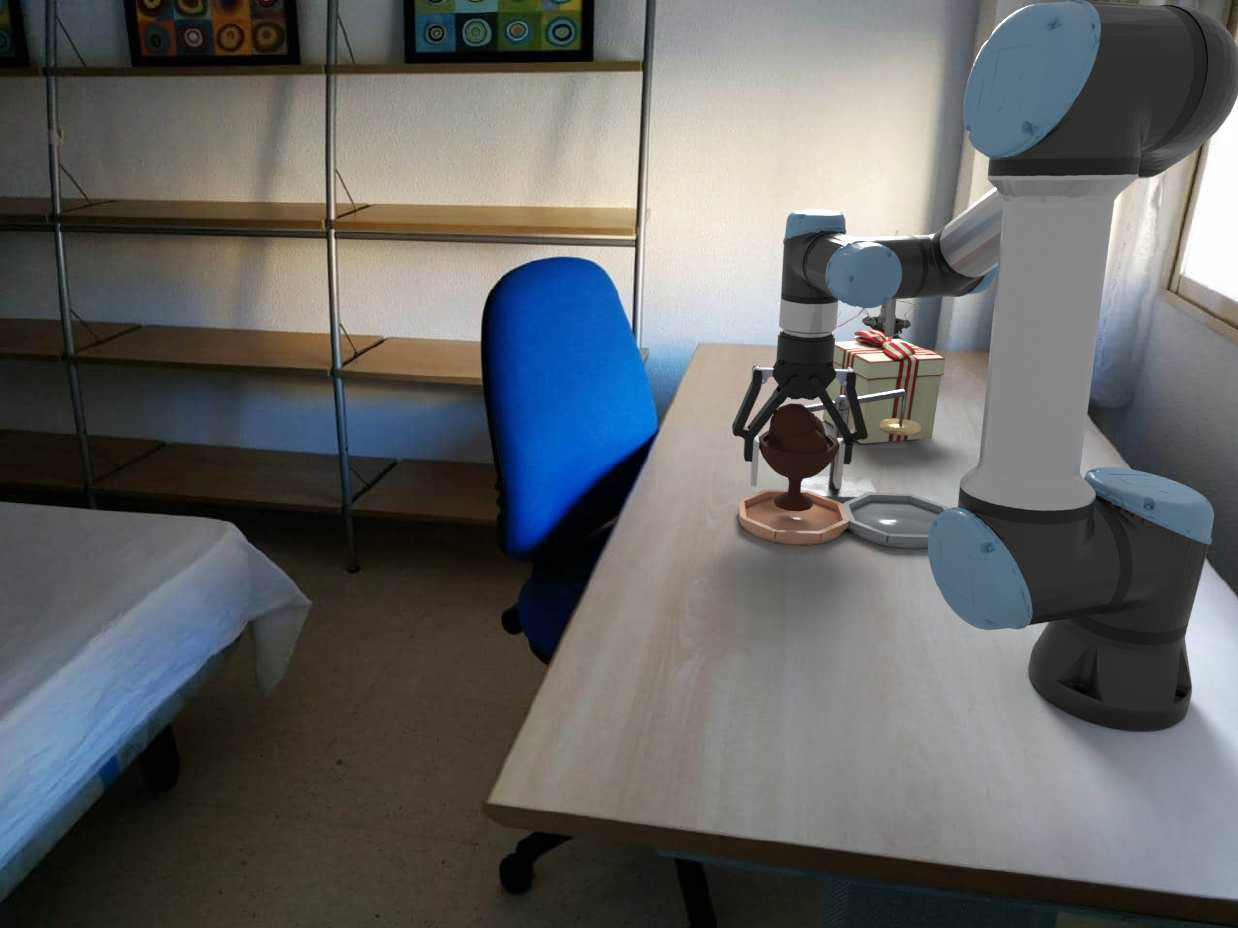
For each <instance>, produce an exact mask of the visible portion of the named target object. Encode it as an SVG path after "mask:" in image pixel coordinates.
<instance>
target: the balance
mask: <svg viewBox="0 0 1238 928" xmlns="http://www.w3.org/2000/svg"><path fill="white" fill-rule="evenodd" d="M897 397H902V401H901V409H900V418H899V419H897V418H892V419H885V420H882V421H880V424H879V428H880V429H881V430H882V431H884V432H886V433H890V434H894V435H903V436H908V435H916V434H919V433H920V432H921V425H920V424H919V423H917V422H914V421H911V420H906V419H903V414H904V406H905V397H906V392H905V391H904V389H900V390H894V391H888V392H883V393H877V394H871V395H865V396H859V397H858V401H859V404H862V403H868V402H874V401H879V400H885V399H891V398H897ZM833 403H834V404H835V406H836V408H837V409H838V411H839V413H840V414H841V416H842V418H843V419H844V421H845V423H846V425H847V415H848V409H849V403H848V400H847V396H846V395H840V396H838V397H836V399H835V401H833ZM804 406H805V407H807V408H808V409H810V410H811V412H812V413H814V412H819V411H824V410H826V408H825V406H824V405H823V403H822V402H818V403H814V404H807V405H804ZM832 437H833V438H834V439H835V440H836V441H837V438H842V439H843V437H842V435H841V433H840V432H839V430H838V428H837V427H836V425H835V423H834V426H833V434H832ZM759 451H760V449H759ZM834 464H835V457H834V459H833V460H832V462H831V463H830V464H829V475H828V476H827V475H825V476H824V475H823V476H822V475H815V476H813V477H810V478H805V479H803V480H802V482H801V490H804V491H811V492H813V493H816V494H819V495H821V496H824V497H827V498H830V499H832V500H835V501H838V502H840V503H842V504H843V503H845V502H847V501H849V500H852V499H854V498H856V497H859V496H861V495H863V494H866V493H878V492H877V490H876V488H875V486H874V484H873V482H872V480H871V478H870V477H865V476H863V477H861V476H860V477H859V476H842V484H841V489H836V488H835V486H834V483H833V474H834Z"/></svg>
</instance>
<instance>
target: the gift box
mask: <svg viewBox="0 0 1238 928" xmlns="http://www.w3.org/2000/svg"><path fill="white" fill-rule="evenodd" d="M853 334H854V336H859V337H857V338H858V339H860V340H859V341H856V340H850V341H849V340H848V341H835V348H834V359H833V366H834V369H846V368H847V367H851V368H853V370H854V371H855V373H856V386H855V390H856V393H857V397H859V396H865V395H871V394H877V393H883V392H888V391H894V390H900V389H904V391H905V392H906V397H905V406H904V414H903V419H906V420H911V421H914V422H917V423H919V424H920V425H921V432H920V433H919V434H916V435H908V436H903V435H894V434H890V433H886V432H884V431H882V430H881V429H880V428H879V424H880V421H882V420H885V419H892V418H897V419H899V418H900V409H901V401H902V397H897V398H891V399H885V400H879V401H874V402H868V403H862V404H860V408H861V411H862V415H863V419H864V422H865V426H866V430H867V433H868V437H867V438H866V439H865V440H862V439H860V440H857V441H856V442H858V443H859V444H865V445H866V444H876V443H877V444H879V443H889V442H903V441H914V440H915V441H916V440H923V439H924V440H926V439H927V440H928V439H932V438H933V432H934V425H935V419H936V418H935V417H936V411H937V405H938V400H939V399H938V397H939V391H940V383H941V377H942V376H944V373H945V365H946V356H943V355H940V354H938V353H936V352H934V351H932V350H930V349H925V348H923V347H920V346H918V345H914V344H913V343H909V342H908V341H906V340H905V341H906V342H905V341H903V340H904V339H903V340H901V339H892V338H893V337H885V334H884V333H882V332H881V331H878V330H873V329H867V330H858V331H854V332H853ZM826 391H827V392H828V394H829V396H830V398H831V399H832V401H835V399H836V397H838V396H840V395H846V393H845V389H844V386H842V385H841V384H840V382H839V379H837V378H835V379H834V380H833V381H832V382H831V384H830V385H829V386H828V387H827V388H826ZM822 420H823V421H824V422H826V423H828V424H830V425H831V426H832V427H834V422H833V420H832V418H831V416H830V415H829V413H828V411H827V410H823V415H822ZM847 426H848V428H849V430H852V429H855V425H854V421H853V418H852V414H851V411H850V407H849V409H848V415H847Z"/></svg>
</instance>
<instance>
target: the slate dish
mask: <svg viewBox="0 0 1238 928" xmlns="http://www.w3.org/2000/svg"><path fill="white" fill-rule="evenodd" d="M843 506H844V508H845V511H846V514H847V516H848V519H849V527H848V528H847V530H849V532H850V533H852V534H854V535H855V536H857V537H859V538H860V539H863V540H864V541H868V542H870V543H873V544H877V545H880V546H884V547H889V548H890V547H891V548H896V549H905V550H920V549H928V535H929V530H930V527H931V524H932V522H933V520H935V519H936V517H937V516H938V514H940V513H941V512H943V511H945V510H946V509H950V508H949V507H948V506H947V505H944V504H942V503H938V502H935V501H933V500H929V499H926V498H925V497H924V498H923V497H921V496H918V495H915V494H912V493H901V492H900V493H897V492H895V493H894V492H877V493H866V494H863V495H861V496H859V497H856V498H854V499H852V500H849V501H847V502H845V503H843Z"/></svg>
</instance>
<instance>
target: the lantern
mask: <svg viewBox="0 0 1238 928" xmlns="http://www.w3.org/2000/svg"><path fill="white" fill-rule="evenodd" d="M898 232H899V230H898V229H897V230H896V231H895V233H896V234H898ZM896 236H897V235H894V237H896ZM907 300H909V301H910V302H911V303H910V302H909V301H906V300H905V301H903V300H899V299H892V300H889V301H887V302H885V303H884V304H882V305H880V308H879V309H878V310H879V311H880V313H879V314H878V316H872V315H870V313H869V312H868V311H867V308H862V309H861V310H860V311H859V313H858V314H856V315H855V316H853V317H852V318H851V319H848V320H847V321H845V322H843V323H841V324H838V326H836V329H837V328H840V327H842V326H844V325H845V324H846V323H849V322H850V321H853V320H854V319H855V318H856V317H858V316H859V315H861V313H864V314H866V315H867V316H866V317H864V318H862V320H861V322H862V323H863V325H865V326H866V327H870V328H871V330H878V331H881V332H882V333H884V334H885V337H893V338H892V339H901V340H903V341H905V342H907V341H906V340H905V339H903V338H902V337H901V336H899V335H902V334H903V329H908V328H910V327H911V326H912V323H911V321H910V320H909V319H910V317H912V315H913V314H914V311H915V309H914V306H915V303H914V302H913V300H911V298H907ZM897 302H901V303H907V304H910V305H912V306H911V307H910V308H909V309H908V311H911V308H913V309H912V312H911V314H910V315H909V316H908V317H907V316H906V315H907V313H904V317H905V319H902V318H898V317H897V316H896V309H897V308H896V307H897ZM847 306H849V305H848V304H847V303H846V305H845V306H844V307H843V308H842V309H841V311H840V312H839V313H838V314H837V319H838V318H839V317H840V316H841V314H842V312H843V311H844V309H845V308H846V307H847ZM857 337H859V336H856V335H854V337H853V340H855V341H859V340H860V339H858V338H857Z"/></svg>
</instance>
